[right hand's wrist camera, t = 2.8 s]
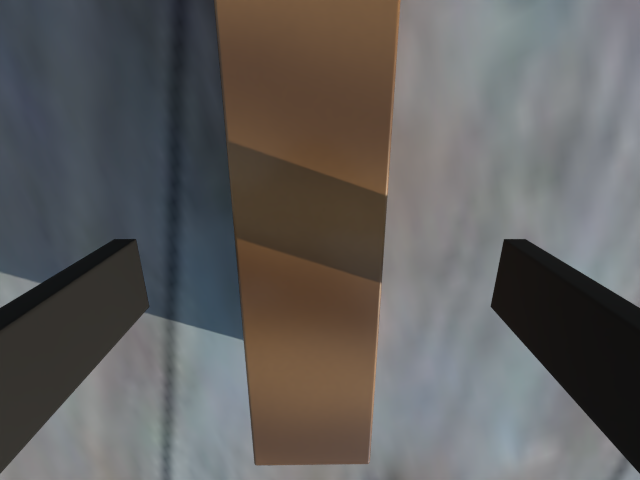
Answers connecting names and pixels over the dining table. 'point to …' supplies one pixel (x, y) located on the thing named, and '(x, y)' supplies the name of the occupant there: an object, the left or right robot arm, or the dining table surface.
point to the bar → (309, 213)
